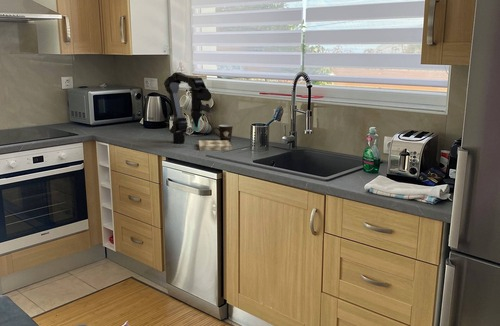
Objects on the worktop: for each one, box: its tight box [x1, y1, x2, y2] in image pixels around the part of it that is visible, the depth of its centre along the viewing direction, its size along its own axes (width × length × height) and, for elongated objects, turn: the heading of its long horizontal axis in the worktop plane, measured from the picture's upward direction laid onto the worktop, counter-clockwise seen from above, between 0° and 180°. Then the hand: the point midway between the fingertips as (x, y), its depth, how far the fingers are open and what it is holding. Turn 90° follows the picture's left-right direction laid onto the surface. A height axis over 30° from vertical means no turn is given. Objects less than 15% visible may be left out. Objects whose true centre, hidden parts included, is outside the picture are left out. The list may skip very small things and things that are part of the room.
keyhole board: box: [198, 139, 232, 151], centre depth 293 cm, size 18×18×2 cm
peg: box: [192, 117, 201, 132], centre depth 289 cm, size 5×5×9 cm
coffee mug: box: [212, 124, 234, 143], centre depth 313 cm, size 12×9×10 cm
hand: (196, 126), depth 289 cm, fingers closed on peg, 4 cm apart
